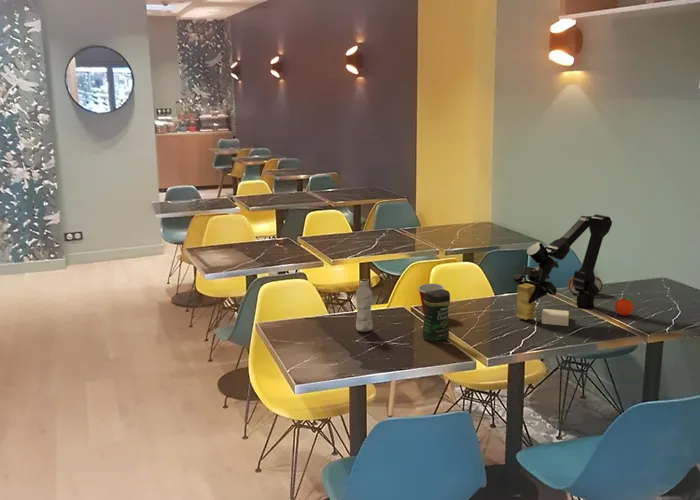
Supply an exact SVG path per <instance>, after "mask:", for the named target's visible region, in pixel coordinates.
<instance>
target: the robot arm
mask: <svg viewBox="0 0 700 500" xmlns="http://www.w3.org/2000/svg"><path fill="white" fill-rule="evenodd" d="M612 225H613V220H612V219H611V217H610V216H606V215H602V214H598V213H595V214H594V215H591V216H589V215H581V216H579V218H578V220H577V221H575V223H574V224H573V225H572V226H571V227H570V228H569V229H568V230H567V231H566V232H565V233H564V234H563V235H562V236H561V237H560V238H558V239H555V240H553V241H551V242H550V244H548V245H547V246H544V245H543V243H542V242H540V241H537V242H536V243H535V244H532V245H531V246H529V247H528V248H527V250H526V255H528V256H529V257H530V258H531V259H532V261H534V263H535V264H537V266H534V267H531V266H527V265H524V267H523V269H522V272H521V273H522V274H520V273H515V274H514V275H513V276H512V277H511V278H512V280H513V281H514V282H515V284H516V285H517V286H518V285H521V284H525V283H527V284H531V285H534V286H535V291H534V293H533V294H532V296H531V298H530V300H529V304H531V303H532V302H534V301H535V302H536V301H537V300H538V299H541V298H543V297H544V296H548V295H550V296H556V294H557V290H558V289H557V287H556V286H555V285H554V284H553V282H550V281H547V280H549V279H550V274H551V272H552V271H553V269H554V268H556V269H559V264H558V260H563V259H565V258H566V256H567V255H568V253H569V252H570V248H571V246H572V245H573V244H574V243H575V242H576V241H577V240H578V239H579V237H581V236H582V235H583V233H585V232H586V230H588V229H589V232H590V237H589V240H588V244H587V247H586V250H585V255H584V257H583V261H582V264H581V267H580V268H579V270H575V271H574V274H573V276H574V277H573V276H572V277H573V279H572V280H573V285H574V287H575V291H578V292H579V293H578V294H576V306H577V308H578V309H589V310H590V309H591V310H593V309H594V308H595V306H594V303H595V296H596V295H599V293H600V292H599V289H598V287H597V286H596V285H595V284H594V283H595V276H596V275H595V271H594V270H595V268H596V267H595V266H596V263H597V261H598V256H599V253H600V249H601V245H602V243H603V239H604V238H605V236H607V234H609V232H610V230H611V228H612ZM554 259H555V260H554ZM525 275H526V277H525ZM527 278H528V279H527ZM598 292H599V293H598Z"/></svg>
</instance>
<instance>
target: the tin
mask: <svg viewBox="0 0 700 500" xmlns="http://www.w3.org/2000/svg"><path fill="white" fill-rule="evenodd" d="M573 277H574V275H572V276H571V277H569V279H568V280H567V284H566V285H567V288H568V290H569V291H570V293H572V294H574V295H577V294H578V293H579V292H578V291H575V287H574V285H573V280H572V279H573ZM594 284H595V285H596V286H597V287H598V289H599V292H598V294H599V293H601V291H602V289H603V282H602V280H601V278H600V277H599V276H596V275H595V283H594Z"/></svg>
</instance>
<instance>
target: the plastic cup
mask: <svg viewBox="0 0 700 500" xmlns="http://www.w3.org/2000/svg"><path fill="white" fill-rule="evenodd" d="M440 289H444V290H445V286H443V285H442V284H438V283H424V284H420V285H419V286H418V288H417V290H418V292H419V295H420V301H421V307H422V314H423V316H424V315H425V305H424V293H425V292H427V291H434V290H440Z"/></svg>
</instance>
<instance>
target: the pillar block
mask: <svg viewBox="0 0 700 500" xmlns="http://www.w3.org/2000/svg"><path fill="white" fill-rule="evenodd" d="M534 291H535V286H534V285H531V284H527V283H525V284H521V285H517V295H516V297H517V298H516V317H517V318H520V319H523V320H525V321H527V320H530V319H533V318H535V317H536V316H535V315H536V313H535V312H536V300H535V301H534V302H532V303H531V304H529V300H530V298H531V296H532V294H533V293H534Z"/></svg>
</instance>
